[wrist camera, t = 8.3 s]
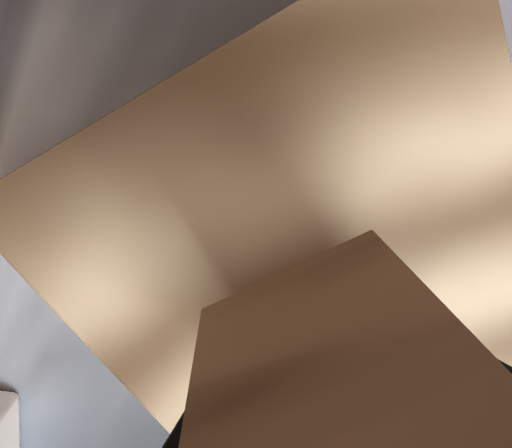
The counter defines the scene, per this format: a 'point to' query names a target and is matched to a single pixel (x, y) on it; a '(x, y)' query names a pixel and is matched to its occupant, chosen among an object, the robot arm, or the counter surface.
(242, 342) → the walnut block
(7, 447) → the medicine bottle
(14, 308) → the counter surface
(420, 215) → the birch base
